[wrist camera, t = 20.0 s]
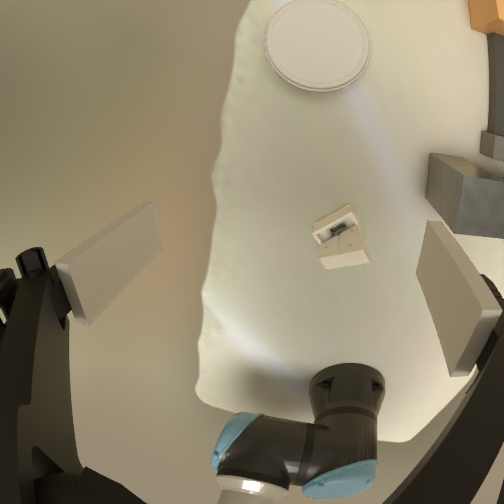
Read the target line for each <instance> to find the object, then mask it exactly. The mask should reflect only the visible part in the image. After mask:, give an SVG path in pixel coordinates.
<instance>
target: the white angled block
mask: <svg viewBox="0 0 504 504" xmlns="http://www.w3.org/2000/svg"><path fill="white" fill-rule="evenodd" d="M343 222H344V224H345V225H346V226H344V227H343V228H341V229H339V230H337V231H335V232H333V231H332V228H334V227H336V226H338V225H340V224H341V223H343ZM312 234H313V236H314V237H315V239H316V240H317V242H318V243H319V245H320V246H319V256H318V259H319V260H320V262H321V263H322V265H323V266H324V268H325V269H326V270H328V269H334V268H341V267H347V266H354V265H360V264H367V263H370V257H369V252H368V247H367V242H366V237H365V233H364V228H363V225H362V223H361V221H360V220H359V218H358V216H357V215H356V213H355V211H354V210H353V208H352V206H351V205H350V204H348V205H346V206H344V207H343V208H341V209H339V210H337V211H336V212H334V213H332V214H330V215H328V216H327V217H325V218H323V219H321V220H320V221H318V222H316V223H314V224H313V231H312Z"/></svg>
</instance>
